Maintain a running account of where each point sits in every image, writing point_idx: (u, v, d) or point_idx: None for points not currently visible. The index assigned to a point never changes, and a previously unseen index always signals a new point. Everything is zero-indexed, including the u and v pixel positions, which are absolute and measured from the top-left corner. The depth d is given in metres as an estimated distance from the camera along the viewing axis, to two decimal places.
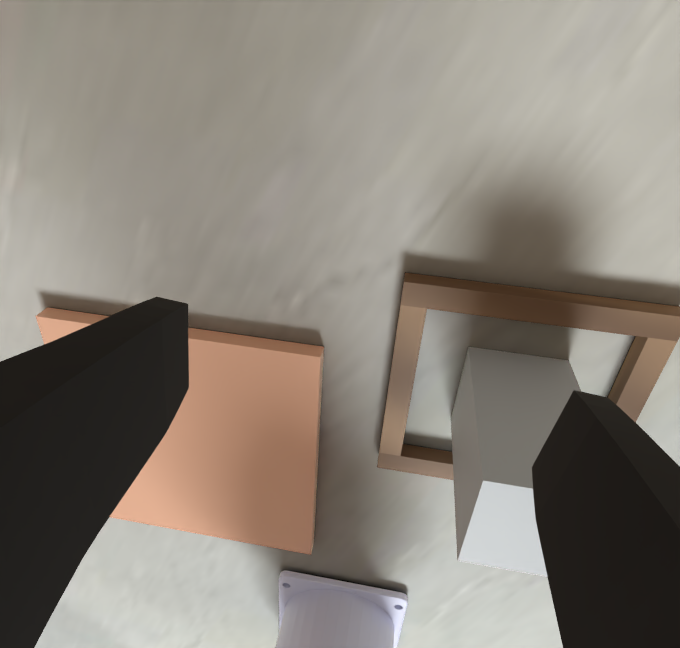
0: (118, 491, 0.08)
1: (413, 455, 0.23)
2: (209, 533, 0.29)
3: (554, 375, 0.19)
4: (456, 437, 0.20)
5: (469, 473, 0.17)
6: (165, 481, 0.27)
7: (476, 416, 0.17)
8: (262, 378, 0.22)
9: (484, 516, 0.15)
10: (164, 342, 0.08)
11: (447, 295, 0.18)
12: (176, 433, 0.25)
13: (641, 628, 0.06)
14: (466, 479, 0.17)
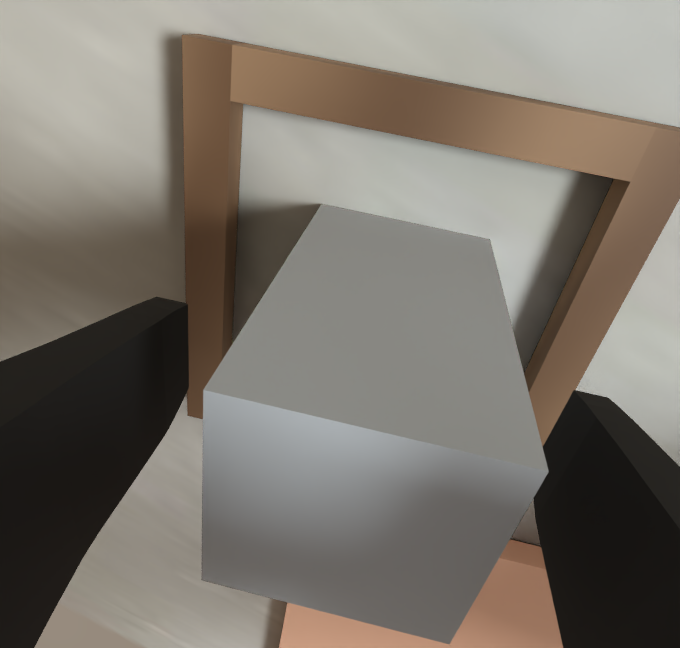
0: (118, 491, 0.08)
1: None
2: None
3: None
4: None
5: None
6: None
7: None
8: None
9: (298, 591, 0.08)
10: (164, 342, 0.08)
11: (198, 375, 0.14)
12: None
13: (641, 628, 0.06)
14: None
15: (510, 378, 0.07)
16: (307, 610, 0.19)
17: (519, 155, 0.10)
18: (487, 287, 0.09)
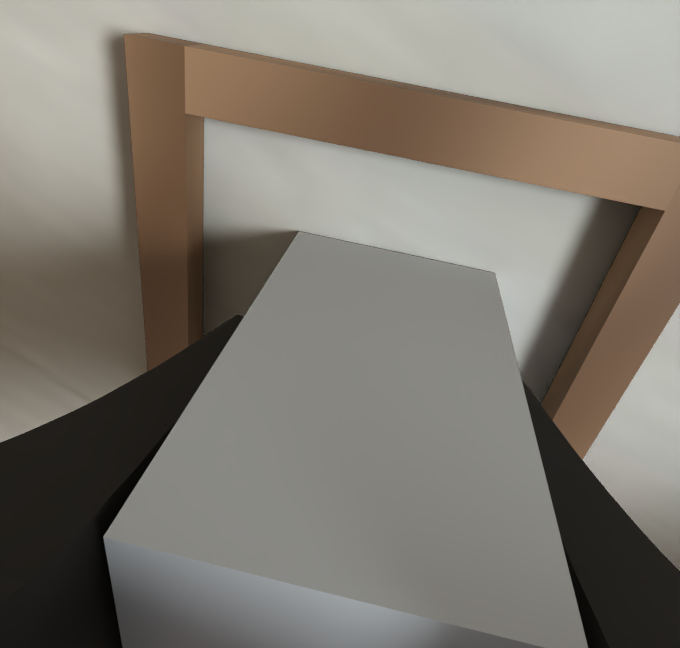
0: None
1: None
2: None
3: None
4: None
5: None
6: None
7: None
8: None
9: None
10: None
11: None
12: None
13: None
14: None
15: (529, 486, 0.05)
16: None
17: (531, 179, 0.08)
18: (494, 340, 0.08)
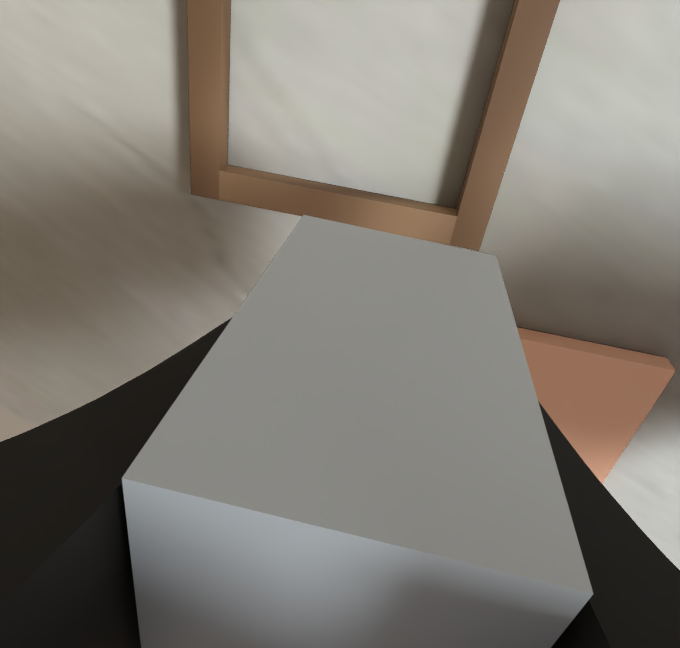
0: None
1: (462, 196, 0.16)
2: None
3: None
4: None
5: None
6: None
7: None
8: None
9: None
10: None
11: (200, 146, 0.16)
12: None
13: None
14: None
15: (532, 444, 0.05)
16: None
17: None
18: (496, 316, 0.08)
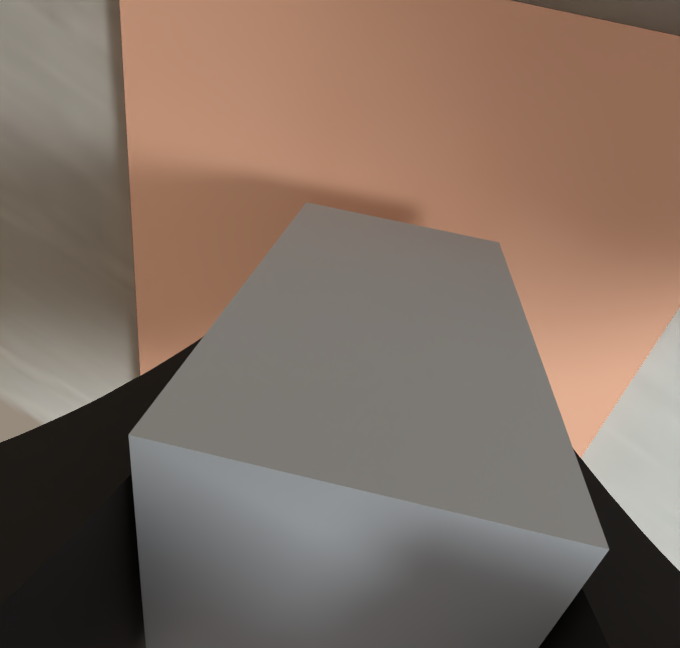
0: None
1: None
2: (652, 331, 0.12)
3: None
4: None
5: None
6: None
7: None
8: (191, 76, 0.11)
9: None
10: None
11: None
12: None
13: None
14: None
15: (541, 411, 0.05)
16: (161, 214, 0.13)
17: None
18: (501, 295, 0.08)
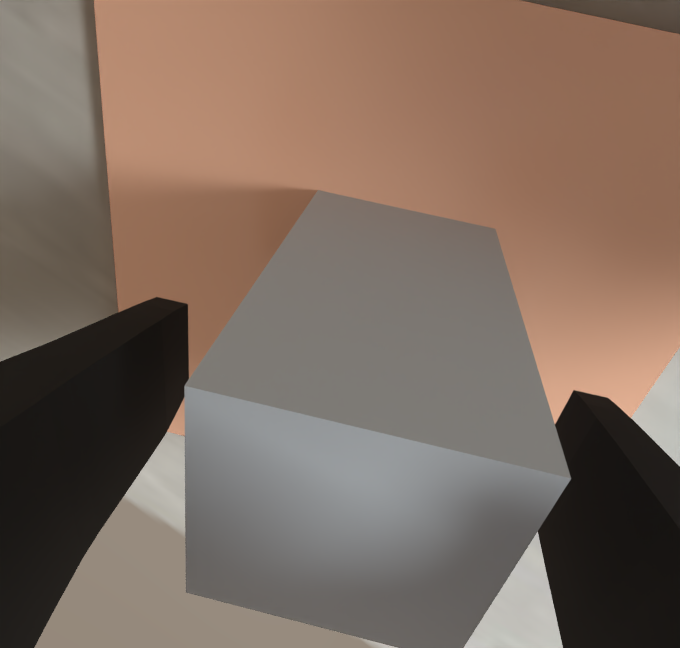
0: (118, 491, 0.08)
1: None
2: (665, 351, 0.12)
3: None
4: None
5: None
6: None
7: None
8: (172, 81, 0.10)
9: (290, 604, 0.07)
10: (164, 342, 0.08)
11: None
12: None
13: (641, 628, 0.06)
14: None
15: (524, 374, 0.06)
16: (143, 227, 0.12)
17: None
18: (494, 277, 0.09)
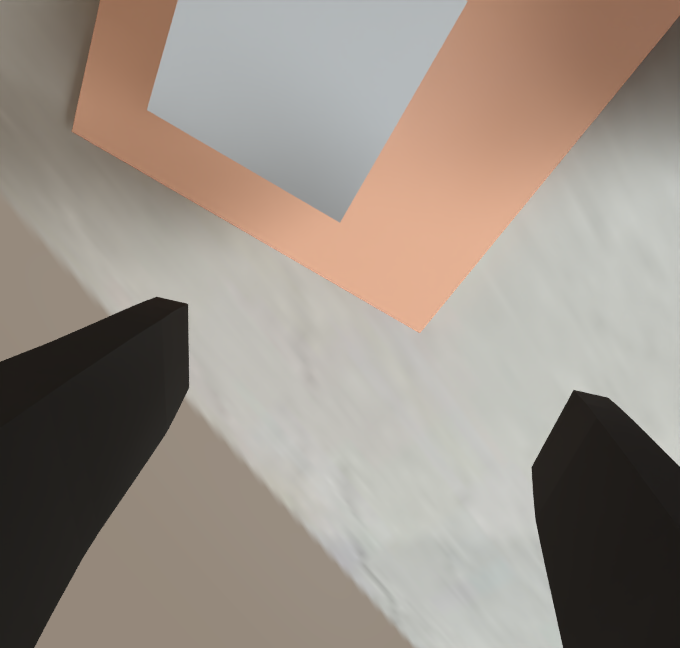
0: (118, 491, 0.08)
1: None
2: (544, 169, 0.15)
3: None
4: None
5: None
6: (394, 162, 0.15)
7: None
8: None
9: (231, 136, 0.09)
10: (164, 342, 0.08)
11: None
12: None
13: (641, 628, 0.06)
14: None
15: None
16: None
17: None
18: None
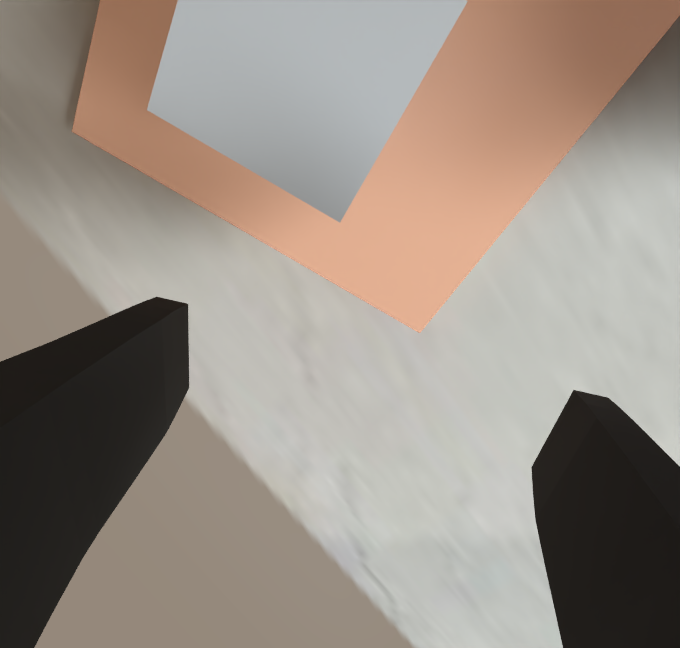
0: (118, 491, 0.08)
1: None
2: (544, 169, 0.15)
3: None
4: None
5: None
6: (394, 162, 0.15)
7: None
8: None
9: (231, 136, 0.09)
10: (164, 342, 0.08)
11: None
12: None
13: (641, 628, 0.06)
14: None
15: None
16: None
17: None
18: None
